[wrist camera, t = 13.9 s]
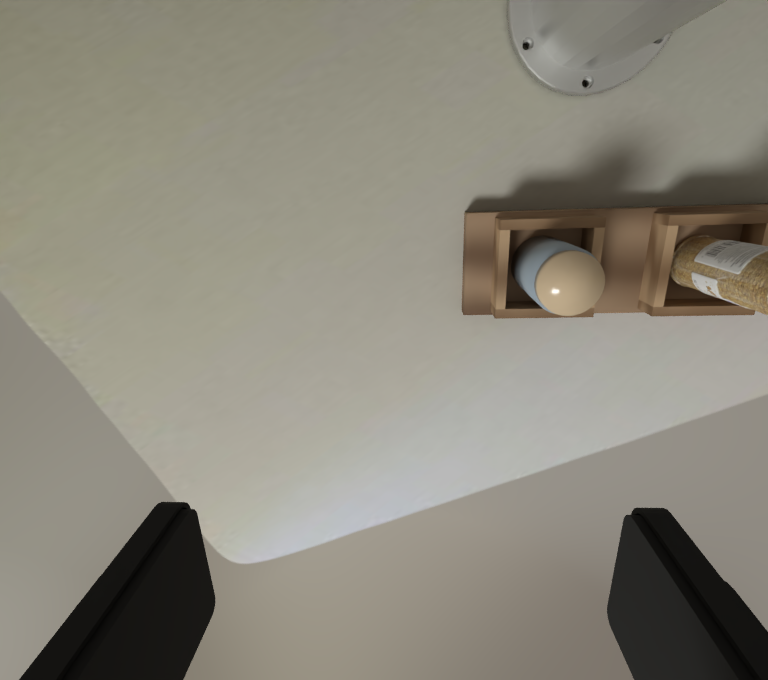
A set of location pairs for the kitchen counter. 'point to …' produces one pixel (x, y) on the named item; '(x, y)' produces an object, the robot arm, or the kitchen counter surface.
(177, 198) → the kitchen counter surface
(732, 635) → the robot arm
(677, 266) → the sprinkles bottle
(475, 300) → the spice rail
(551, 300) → the spice pot
